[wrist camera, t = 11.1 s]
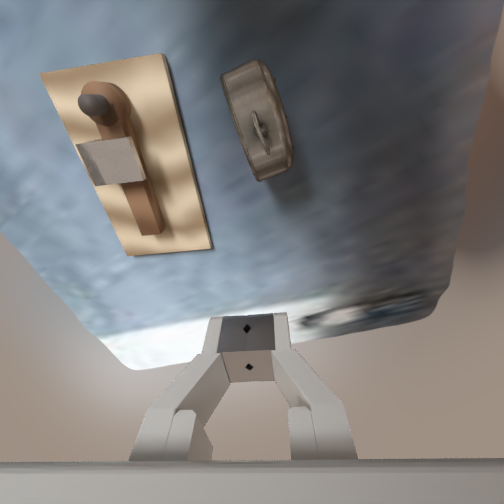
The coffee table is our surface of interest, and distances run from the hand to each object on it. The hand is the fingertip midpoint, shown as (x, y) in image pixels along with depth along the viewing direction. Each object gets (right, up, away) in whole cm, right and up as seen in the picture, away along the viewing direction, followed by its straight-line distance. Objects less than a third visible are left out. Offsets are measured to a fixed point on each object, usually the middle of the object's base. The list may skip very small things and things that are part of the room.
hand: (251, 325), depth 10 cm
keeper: (-17, +16, +23) cm, 33 cm away
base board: (-16, +14, +26) cm, 34 cm away
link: (-16, +15, +24) cm, 32 cm away
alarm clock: (+1, +20, +22) cm, 30 cm away
